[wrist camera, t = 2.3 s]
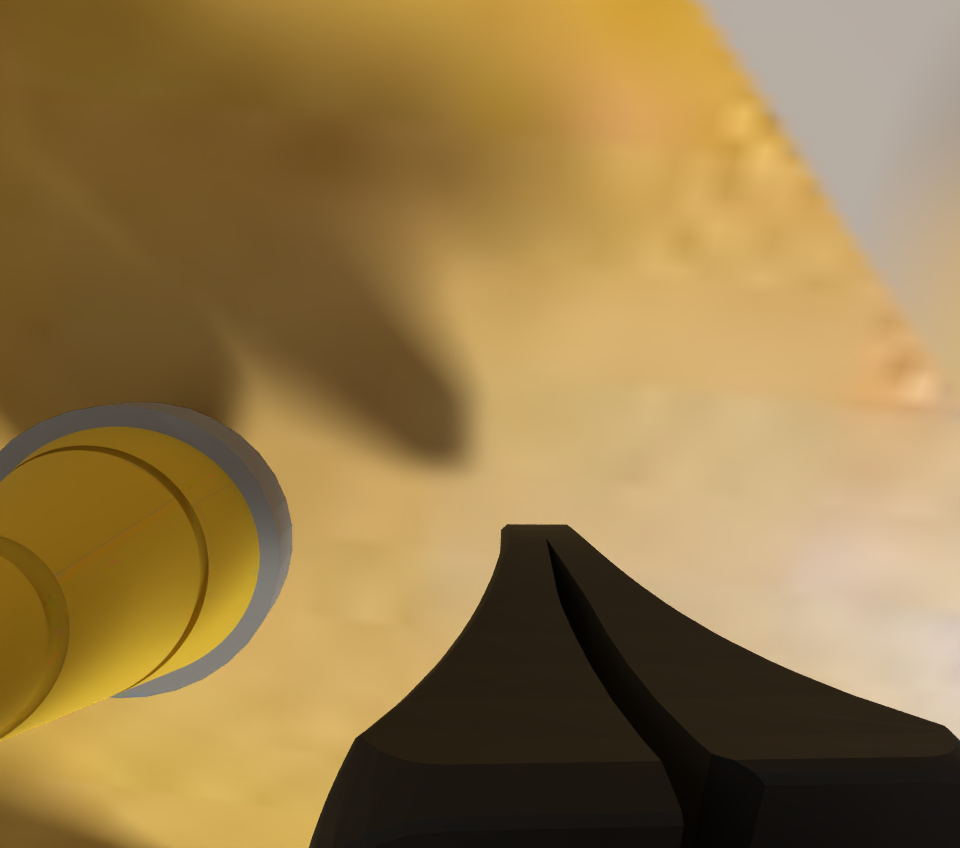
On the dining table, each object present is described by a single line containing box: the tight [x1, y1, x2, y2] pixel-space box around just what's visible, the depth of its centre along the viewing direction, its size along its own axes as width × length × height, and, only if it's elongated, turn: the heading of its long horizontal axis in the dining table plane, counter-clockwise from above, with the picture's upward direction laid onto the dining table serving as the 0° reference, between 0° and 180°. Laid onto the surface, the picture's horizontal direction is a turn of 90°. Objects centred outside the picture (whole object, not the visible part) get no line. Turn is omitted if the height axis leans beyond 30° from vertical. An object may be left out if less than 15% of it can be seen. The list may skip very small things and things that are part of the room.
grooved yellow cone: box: [0, 402, 292, 742], centre depth 8 cm, size 5×5×10 cm
